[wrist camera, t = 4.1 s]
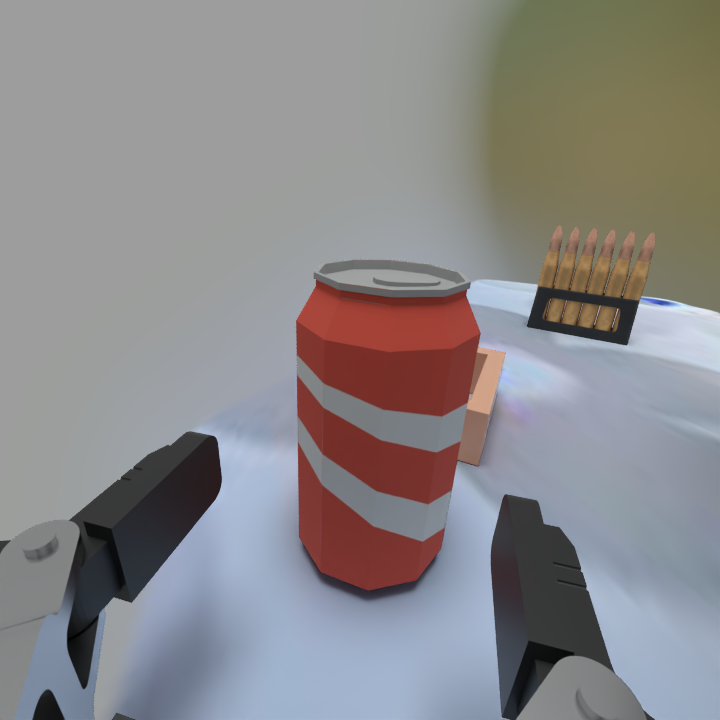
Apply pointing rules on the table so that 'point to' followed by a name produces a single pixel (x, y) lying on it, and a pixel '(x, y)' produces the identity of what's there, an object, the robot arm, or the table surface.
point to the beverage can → (381, 415)
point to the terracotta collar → (480, 403)
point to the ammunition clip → (591, 288)
